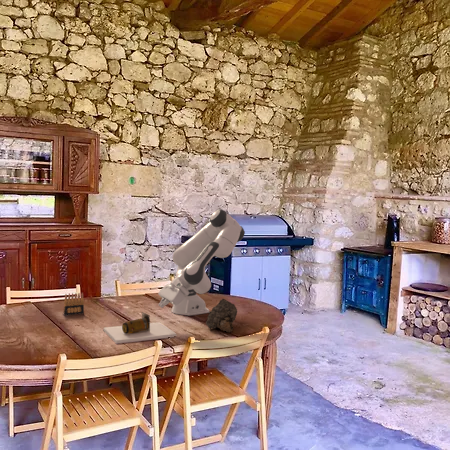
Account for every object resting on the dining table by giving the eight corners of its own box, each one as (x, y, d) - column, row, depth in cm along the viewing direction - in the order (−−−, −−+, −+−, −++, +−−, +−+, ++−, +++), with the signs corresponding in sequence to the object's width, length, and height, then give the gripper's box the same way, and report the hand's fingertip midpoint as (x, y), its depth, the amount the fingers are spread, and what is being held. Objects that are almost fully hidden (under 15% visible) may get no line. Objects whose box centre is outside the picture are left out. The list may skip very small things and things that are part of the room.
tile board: (159, 324, 255) (160, 322, 255) (176, 336, 236) (176, 333, 235) (103, 330, 240) (103, 327, 240) (116, 343, 221) (116, 340, 221)
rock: (215, 293, 260) (234, 293, 249) (230, 310, 266) (249, 311, 255) (197, 320, 250) (216, 321, 239) (213, 337, 256) (232, 340, 245)
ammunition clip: (64, 315, 265) (64, 293, 264) (63, 314, 266) (63, 293, 265) (83, 313, 270) (84, 292, 269) (83, 312, 272) (83, 291, 271)
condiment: (142, 328, 242) (120, 333, 234) (142, 311, 241) (120, 316, 233) (150, 332, 236) (128, 337, 228) (150, 315, 235) (128, 319, 227)
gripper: (167, 278, 256) (149, 297, 252) (182, 286, 238) (163, 307, 234) (174, 286, 259) (156, 305, 254) (190, 294, 241) (171, 315, 237)
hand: (160, 306), depth 244 cm, fingers closed
